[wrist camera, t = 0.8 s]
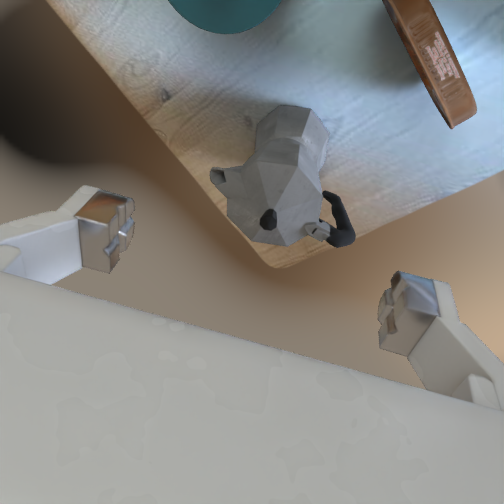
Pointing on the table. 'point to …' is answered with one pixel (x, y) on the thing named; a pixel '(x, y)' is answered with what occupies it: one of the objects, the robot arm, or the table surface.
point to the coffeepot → (284, 183)
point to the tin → (433, 58)
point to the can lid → (225, 13)
